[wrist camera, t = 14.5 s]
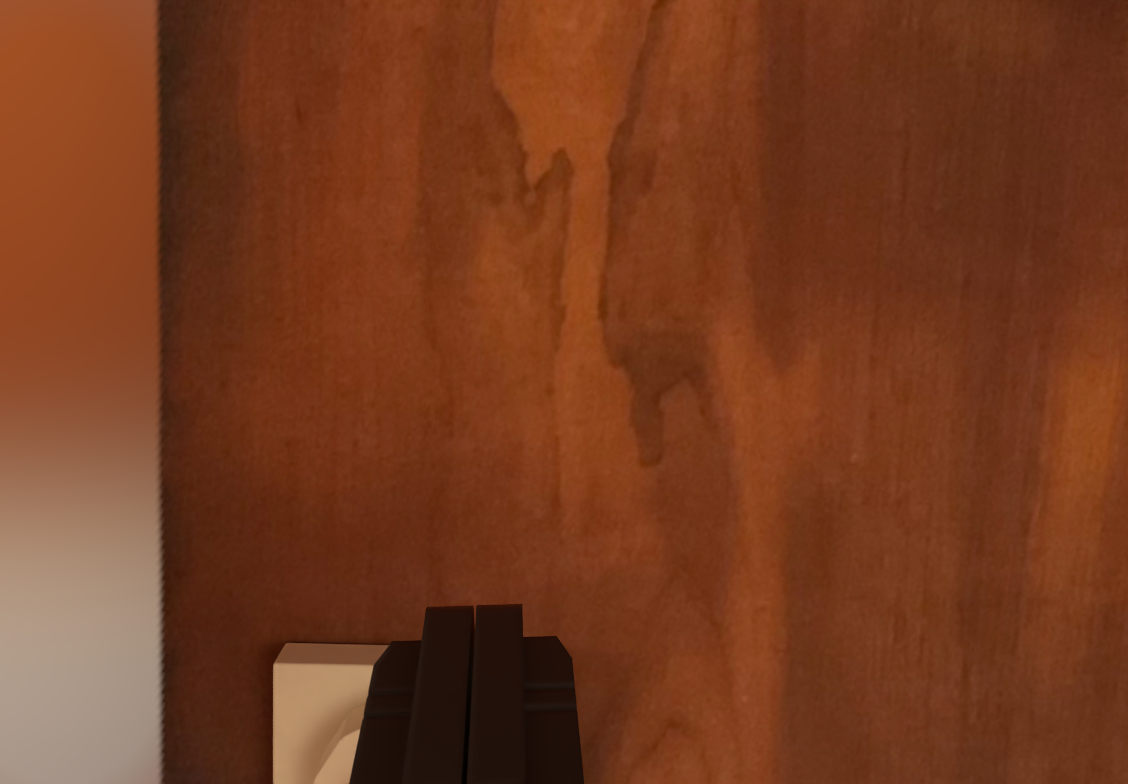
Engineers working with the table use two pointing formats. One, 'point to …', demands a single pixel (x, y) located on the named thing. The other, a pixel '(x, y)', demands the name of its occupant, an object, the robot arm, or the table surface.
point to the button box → (319, 710)
